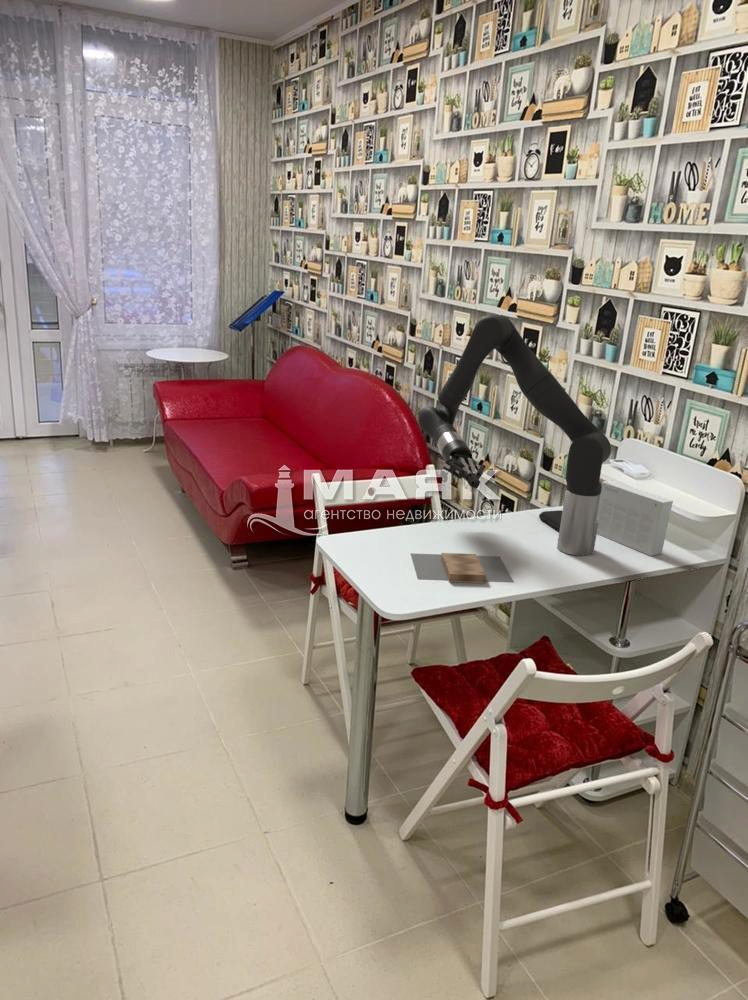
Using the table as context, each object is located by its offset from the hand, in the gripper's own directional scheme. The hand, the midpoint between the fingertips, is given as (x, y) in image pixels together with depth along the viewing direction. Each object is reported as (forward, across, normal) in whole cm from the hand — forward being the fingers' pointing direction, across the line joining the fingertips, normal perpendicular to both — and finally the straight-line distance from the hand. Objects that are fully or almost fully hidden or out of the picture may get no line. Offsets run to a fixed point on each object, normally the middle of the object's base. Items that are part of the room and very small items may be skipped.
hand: (476, 485), depth 198 cm
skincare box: (+6, +52, +10) cm, 53 cm away
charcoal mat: (+16, -5, +16) cm, 23 cm away
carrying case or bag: (-8, +41, +16) cm, 45 cm away
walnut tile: (+12, -4, +15) cm, 20 cm away
